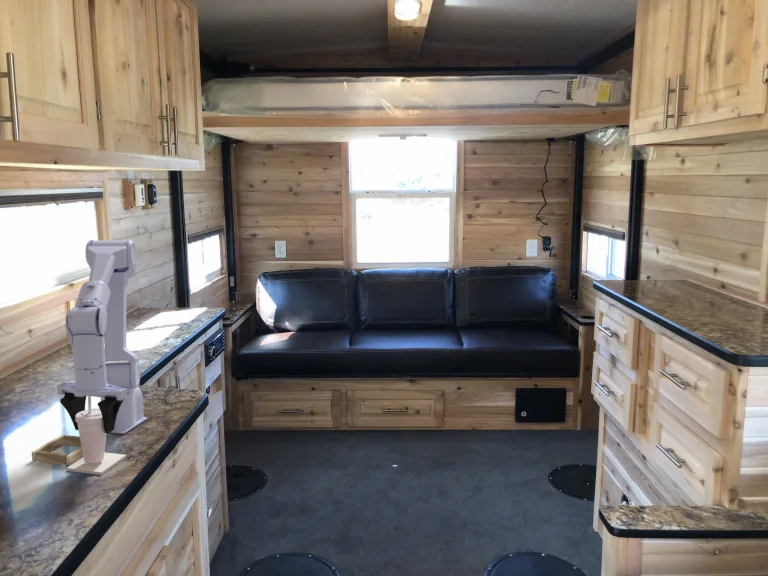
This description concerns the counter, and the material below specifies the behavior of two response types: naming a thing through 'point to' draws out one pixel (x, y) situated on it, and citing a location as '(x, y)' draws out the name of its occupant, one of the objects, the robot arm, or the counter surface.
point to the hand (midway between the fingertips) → (94, 429)
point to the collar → (47, 456)
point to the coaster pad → (97, 464)
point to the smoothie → (91, 433)
